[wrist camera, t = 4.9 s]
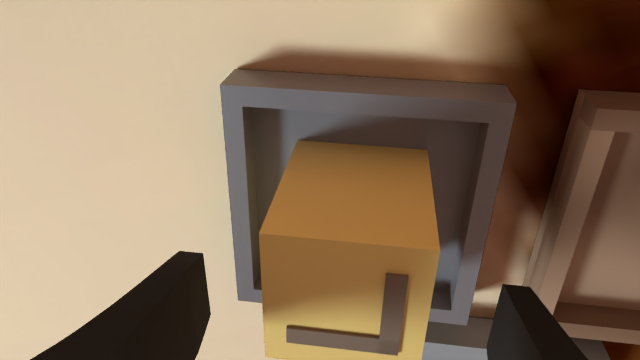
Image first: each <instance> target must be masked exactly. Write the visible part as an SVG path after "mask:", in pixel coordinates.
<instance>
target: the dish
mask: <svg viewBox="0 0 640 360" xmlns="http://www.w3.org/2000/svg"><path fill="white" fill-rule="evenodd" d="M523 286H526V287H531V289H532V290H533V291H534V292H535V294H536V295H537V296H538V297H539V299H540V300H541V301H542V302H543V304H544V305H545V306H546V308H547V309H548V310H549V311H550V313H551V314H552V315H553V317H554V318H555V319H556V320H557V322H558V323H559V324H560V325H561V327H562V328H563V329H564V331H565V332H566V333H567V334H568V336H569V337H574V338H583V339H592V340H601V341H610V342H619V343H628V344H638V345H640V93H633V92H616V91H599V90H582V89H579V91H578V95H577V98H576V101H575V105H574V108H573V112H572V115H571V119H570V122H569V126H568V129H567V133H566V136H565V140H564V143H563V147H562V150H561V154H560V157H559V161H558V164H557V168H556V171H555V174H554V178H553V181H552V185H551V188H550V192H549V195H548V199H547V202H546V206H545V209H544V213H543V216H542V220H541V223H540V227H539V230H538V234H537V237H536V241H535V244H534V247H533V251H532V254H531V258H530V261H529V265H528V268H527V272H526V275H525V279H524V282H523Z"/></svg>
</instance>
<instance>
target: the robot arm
mask: <svg viewBox="0 0 640 360" xmlns="http://www.w3.org/2000/svg"><path fill="white" fill-rule="evenodd" d="M210 315H211V313H210V305H209V298H208V290H207V282H206V274H205V266H204V258H203V253H194V252H184V251H179V252H178V253H176V254H175V255H174V256H173V257H171V258H170V259H169V260H168V261H166V262H165V263H164V264H163V265H161V266H160V267H159V268H158V269H156V270H155V271H154V272H153V273H152V274H150V275H149V276H148V277H147V278H145V279H144V280H143V281H142V282H141V283H139V284H138V285H137V286H136V287H134V288H133V289H132V290H130V291H129V292H128V293H127V294H125V295H124V296H123V297H122V298H120V299H119V300H118V301H116V302H115V303H114V304H113V305H111V306H110V307H109V308H107V309H106V310H104V311H103V312H102V313H100V314H99V315H97V316H96V317H95V318H93V319H92V320H91V321H89V322H88V323H86V324H85V325H84V326H82V327H81V328H79V329H78V330H77V331H75V332H74V333H72V334H71V335H69V336H68V337H66V338H65V339H63V340H61V341H60V342H58V343H57V344H55V345H54V346H52V347H50V348H49V349H47V350H45V351H44V352H42V353H40V354H39V355H37V356H36V357H34V358H32V359H30V360H195V358H196V356H197V354H198V352H199V349H200V346H201V343H202V340H203V337H204V334H205V331H206V327H207V324H208V321H209V318H210ZM486 348H487V358H488V360H588V358H587V357H586V356H585V355H584V354H583V352H582V351H581V350H580V349H579V348H578V347H577V345H576V344H575V343H574V342H573V340H572V339H571V338H570V337H569V336H568V334H567V333H566V332H565V331H564V329H563V328H562V327H561V325H560V324H559V323H558V322H557V320H556V319H555V318H554V317H553V315H552V314H551V313H550V311H549V310H548V309H547V308H546V306H545V305H544V304H543V302H542V301H541V300H540V299H539V297H538V296H537V295H536V294H535V292H534V291H533V290H532V289H531V287H526V286H516V285H507V284H503V285H502V289H501V293H500V296H499V300H498V304H497V308H496V312H495V315H494V319H493V323H492V327H491V331H490V334H489V338H488V342H487V346H486Z"/></svg>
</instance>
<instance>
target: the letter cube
mask: <svg viewBox="0 0 640 360" xmlns="http://www.w3.org/2000/svg"><path fill="white" fill-rule="evenodd" d="M259 247H260V266H261V285H262V304H263V323H264V343H265V357H268V358H276V359H285V360H421V359H422V353H423V348H424V342H425V336H426V330H427V325H428V319H429V313H430V307H431V301H432V296H433V290H434V284H435V278H436V272H437V267H438V261H439V255H440V245H439V237H438V229H437V221H436V213H435V205H434V197H433V189H432V181H431V173H430V165H429V157H428V150H421V149H408V148H394V147H381V146H367V145H354V144H340V143H327V142H313V141H300V140H297V142H296V145H295V147H294V150H293V152H292V154H291V157H290V159H289V162H288V164H287V167H286V169H285V171H284V174H283V176H282V179H281V181H280V183H279V186H278V188H277V191H276V193H275V196H274V198H273V200H272V203H271V205H270V208H269V210H268V212H267V215H266V217H265V220H264V222H263V224H262V227H261V229H260V232H259Z"/></svg>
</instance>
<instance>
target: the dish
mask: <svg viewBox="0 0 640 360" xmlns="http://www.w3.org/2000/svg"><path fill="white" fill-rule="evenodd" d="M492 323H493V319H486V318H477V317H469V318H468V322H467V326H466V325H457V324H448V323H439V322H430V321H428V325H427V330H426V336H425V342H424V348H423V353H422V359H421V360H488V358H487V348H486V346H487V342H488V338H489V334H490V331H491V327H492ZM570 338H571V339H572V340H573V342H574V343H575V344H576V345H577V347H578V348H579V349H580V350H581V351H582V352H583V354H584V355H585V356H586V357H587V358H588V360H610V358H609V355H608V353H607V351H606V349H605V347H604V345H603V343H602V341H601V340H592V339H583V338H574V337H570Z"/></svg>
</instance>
